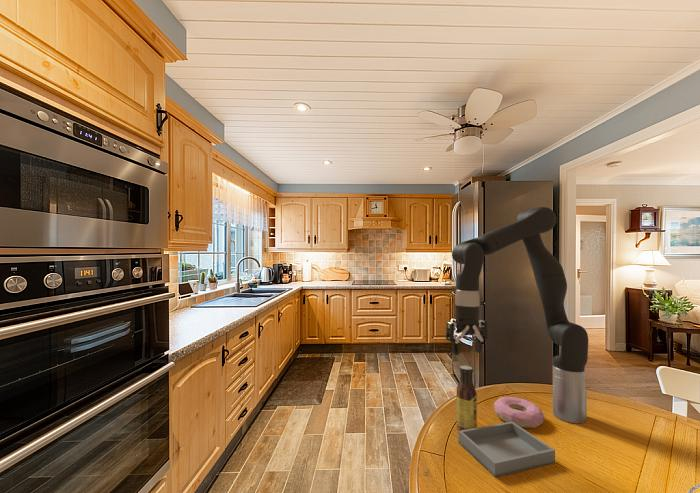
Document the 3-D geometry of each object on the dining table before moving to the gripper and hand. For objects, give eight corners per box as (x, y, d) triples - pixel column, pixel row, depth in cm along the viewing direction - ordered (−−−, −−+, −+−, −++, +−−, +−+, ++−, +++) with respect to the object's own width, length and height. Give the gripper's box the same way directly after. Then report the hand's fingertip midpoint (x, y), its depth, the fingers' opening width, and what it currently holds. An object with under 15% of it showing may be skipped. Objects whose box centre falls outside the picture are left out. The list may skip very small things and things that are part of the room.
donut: (484, 410, 113) (484, 396, 113) (519, 405, 117) (519, 392, 117) (517, 434, 98) (517, 418, 98) (555, 428, 102) (555, 413, 102)
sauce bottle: (478, 436, 97) (478, 372, 97) (457, 433, 98) (458, 370, 98) (474, 424, 103) (474, 365, 103) (455, 422, 104) (455, 363, 105)
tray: (512, 432, 99) (512, 421, 99) (555, 463, 84) (555, 450, 84) (458, 442, 93) (458, 430, 93) (494, 477, 79) (494, 463, 79)
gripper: (477, 301, 107) (477, 348, 107) (441, 302, 103) (441, 351, 103) (493, 304, 100) (493, 355, 99) (455, 306, 96) (455, 358, 95)
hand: (466, 353), depth 101 cm, fingers open, 8 cm apart
